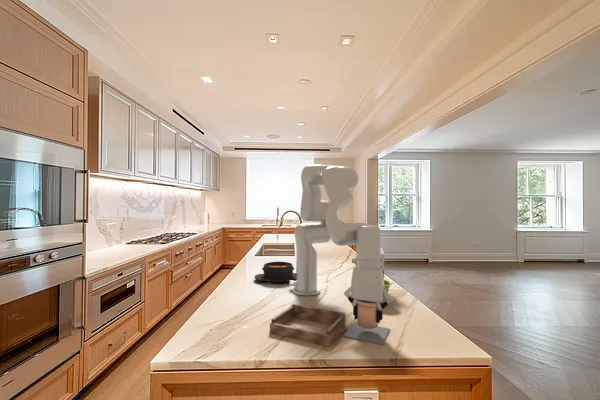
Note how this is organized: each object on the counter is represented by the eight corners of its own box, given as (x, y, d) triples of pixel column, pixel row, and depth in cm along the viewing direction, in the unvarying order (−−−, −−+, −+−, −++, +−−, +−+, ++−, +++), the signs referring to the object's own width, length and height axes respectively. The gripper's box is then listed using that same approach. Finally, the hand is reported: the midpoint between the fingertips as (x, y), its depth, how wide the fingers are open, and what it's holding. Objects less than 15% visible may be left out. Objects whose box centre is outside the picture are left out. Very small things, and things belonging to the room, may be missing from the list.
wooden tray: (269, 332, 100) (269, 318, 100) (292, 315, 114) (292, 303, 114) (328, 346, 91) (328, 330, 91) (345, 326, 105) (345, 312, 105)
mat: (343, 336, 97) (343, 335, 97) (354, 323, 108) (354, 321, 108) (382, 345, 92) (382, 343, 92) (390, 329, 103) (390, 328, 103)
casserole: (298, 275, 176) (298, 260, 175) (304, 284, 157) (305, 267, 157) (253, 276, 171) (253, 261, 171) (254, 286, 153) (254, 269, 153)
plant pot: (391, 307, 124) (391, 286, 124) (367, 306, 125) (367, 284, 125) (389, 300, 133) (389, 279, 133) (367, 298, 135) (367, 278, 135)
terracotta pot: (353, 326, 98) (353, 301, 98) (359, 319, 105) (359, 295, 105) (376, 330, 95) (376, 305, 95) (380, 322, 101) (381, 298, 101)
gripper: (338, 263, 100) (338, 319, 100) (393, 268, 93) (393, 329, 93) (345, 259, 107) (345, 311, 107) (397, 264, 99) (397, 320, 99)
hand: (367, 319), depth 100 cm, fingers closed on terracotta pot, 6 cm apart
